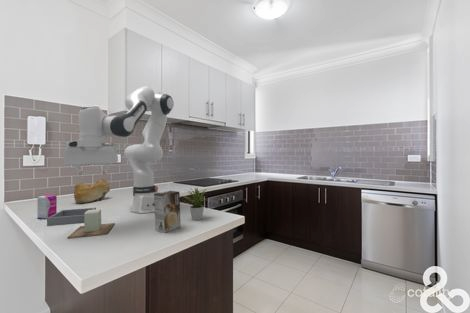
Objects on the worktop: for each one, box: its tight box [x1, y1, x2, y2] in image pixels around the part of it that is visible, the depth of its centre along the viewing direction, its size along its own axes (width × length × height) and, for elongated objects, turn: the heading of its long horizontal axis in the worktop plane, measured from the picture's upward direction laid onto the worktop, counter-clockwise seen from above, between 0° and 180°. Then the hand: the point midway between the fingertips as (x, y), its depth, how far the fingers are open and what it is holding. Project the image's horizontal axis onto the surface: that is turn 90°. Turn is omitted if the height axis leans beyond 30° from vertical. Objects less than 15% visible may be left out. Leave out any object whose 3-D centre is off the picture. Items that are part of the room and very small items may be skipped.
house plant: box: [181, 187, 210, 221], centre depth 114 cm, size 14×14×16 cm
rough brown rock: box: [73, 178, 111, 204], centre depth 161 cm, size 23×17×15 cm
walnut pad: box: [67, 222, 116, 239], centre depth 97 cm, size 14×14×1 cm
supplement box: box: [36, 194, 58, 220], centre depth 118 cm, size 6×6×12 cm
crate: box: [46, 207, 97, 227], centre depth 114 cm, size 16×16×4 cm
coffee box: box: [154, 190, 181, 234], centre depth 98 cm, size 9×6×16 cm
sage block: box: [83, 208, 102, 232], centre depth 97 cm, size 5×5×8 cm
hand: (92, 174), depth 99 cm, fingers open, 8 cm apart
